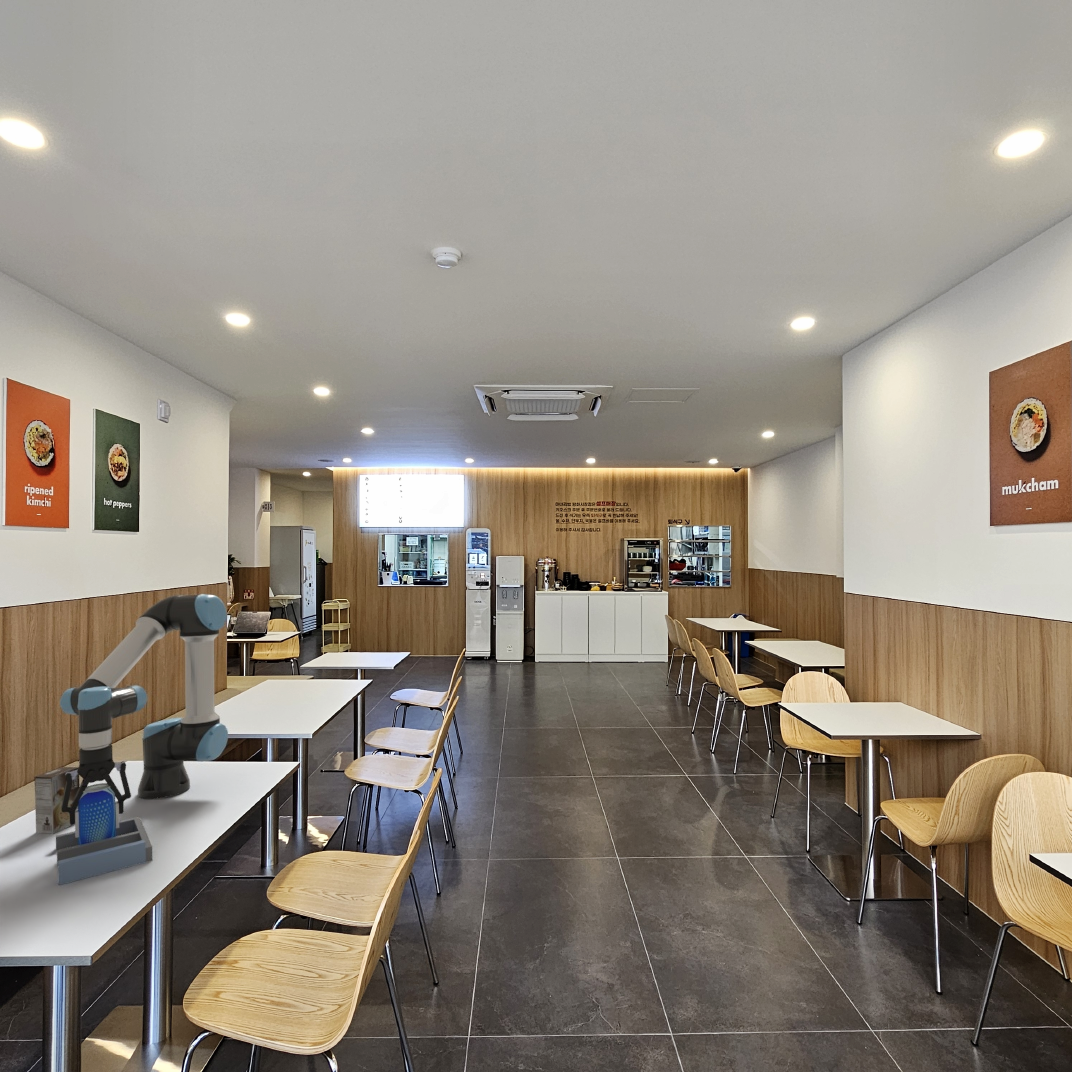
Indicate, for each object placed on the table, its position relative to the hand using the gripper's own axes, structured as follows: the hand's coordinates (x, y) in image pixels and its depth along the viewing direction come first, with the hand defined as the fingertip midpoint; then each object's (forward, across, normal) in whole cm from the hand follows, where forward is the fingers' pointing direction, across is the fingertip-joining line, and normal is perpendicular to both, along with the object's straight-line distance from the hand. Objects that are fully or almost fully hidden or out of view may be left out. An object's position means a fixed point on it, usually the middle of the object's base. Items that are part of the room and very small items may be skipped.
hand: (97, 831), depth 181 cm
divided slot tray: (+4, 0, +6) cm, 7 cm away
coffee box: (+5, +8, -25) cm, 27 cm away
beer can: (+5, 0, 0) cm, 5 cm away
